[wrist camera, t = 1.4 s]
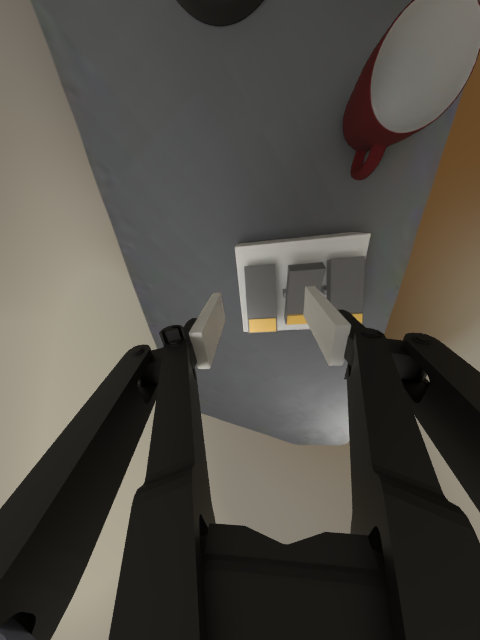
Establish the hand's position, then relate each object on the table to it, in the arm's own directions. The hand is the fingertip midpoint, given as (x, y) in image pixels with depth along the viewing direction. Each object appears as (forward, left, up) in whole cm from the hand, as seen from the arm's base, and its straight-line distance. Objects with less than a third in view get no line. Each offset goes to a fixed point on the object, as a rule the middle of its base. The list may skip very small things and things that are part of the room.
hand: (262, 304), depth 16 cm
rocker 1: (+4, 0, -11) cm, 12 cm away
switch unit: (+4, +6, -19) cm, 20 cm away
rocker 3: (+4, +12, -11) cm, 17 cm away
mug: (-15, +14, -19) cm, 28 cm away
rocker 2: (+4, +6, -11) cm, 13 cm away
